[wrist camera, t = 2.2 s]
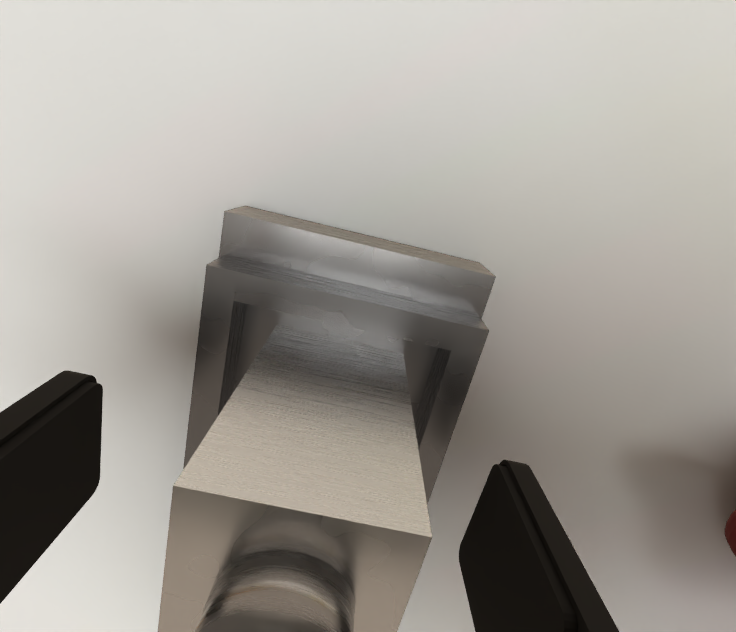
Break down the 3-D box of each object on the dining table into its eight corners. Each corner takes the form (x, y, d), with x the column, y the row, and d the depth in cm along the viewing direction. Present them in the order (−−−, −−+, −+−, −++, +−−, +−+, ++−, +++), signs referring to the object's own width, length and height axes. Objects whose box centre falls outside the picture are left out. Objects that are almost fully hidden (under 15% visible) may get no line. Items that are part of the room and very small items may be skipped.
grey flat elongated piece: (479, 262, 14) (511, 290, 11) (333, 704, 22) (326, 800, 18) (245, 205, 14) (203, 216, 10) (180, 678, 21) (144, 771, 18)
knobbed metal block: (403, 352, 13) (442, 600, 6) (372, 456, 14) (371, 772, 7) (277, 324, 13) (136, 541, 5) (257, 432, 14) (123, 732, 7)
